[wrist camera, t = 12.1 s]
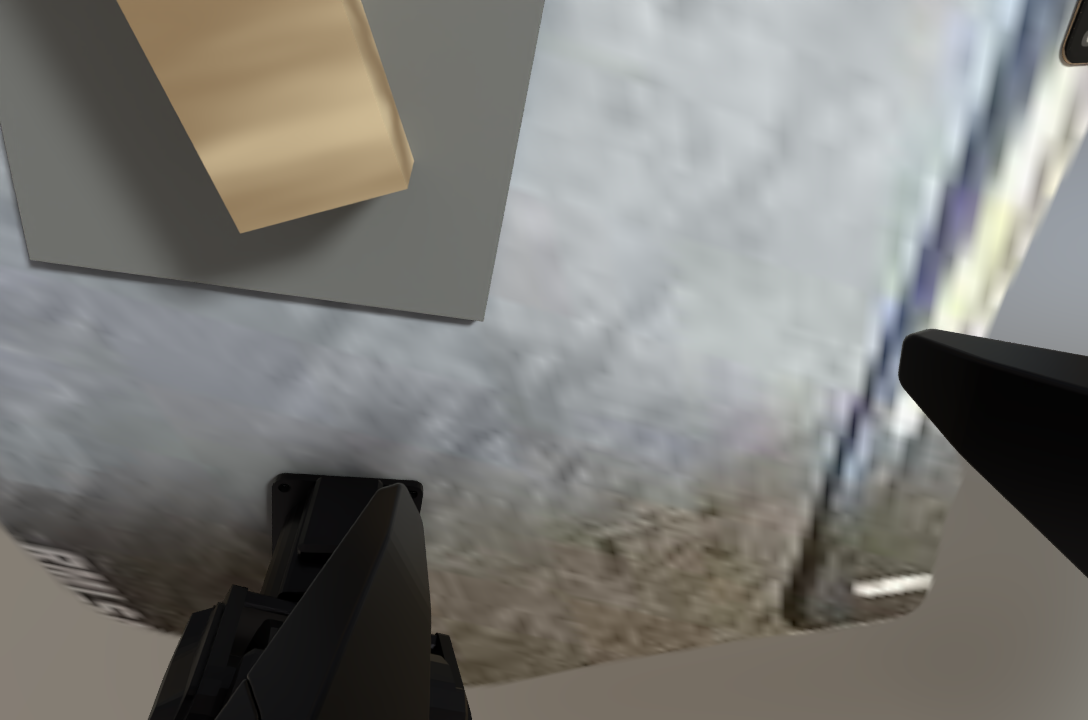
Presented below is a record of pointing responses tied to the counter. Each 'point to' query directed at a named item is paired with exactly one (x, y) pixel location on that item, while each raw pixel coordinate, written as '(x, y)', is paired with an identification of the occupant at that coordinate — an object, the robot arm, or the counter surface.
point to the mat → (195, 204)
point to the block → (278, 101)
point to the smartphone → (1077, 37)
